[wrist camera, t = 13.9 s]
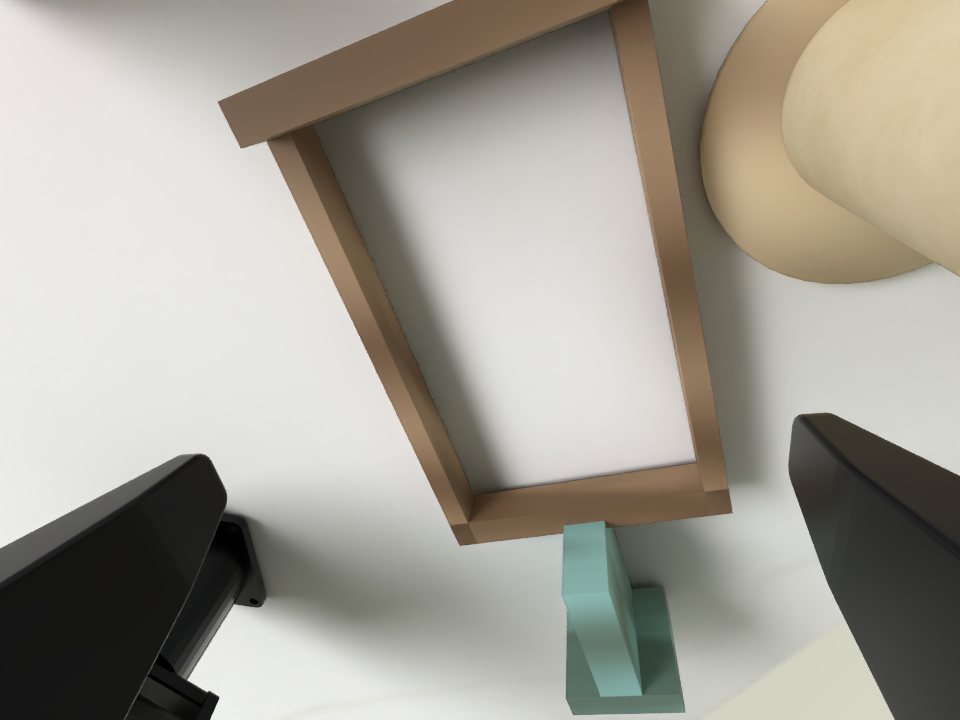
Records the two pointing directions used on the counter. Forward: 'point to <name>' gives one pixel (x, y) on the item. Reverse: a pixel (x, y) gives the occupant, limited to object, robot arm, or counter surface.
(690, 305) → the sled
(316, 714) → the counter surface
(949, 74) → the candle
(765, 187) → the coaster
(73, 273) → the counter surface
